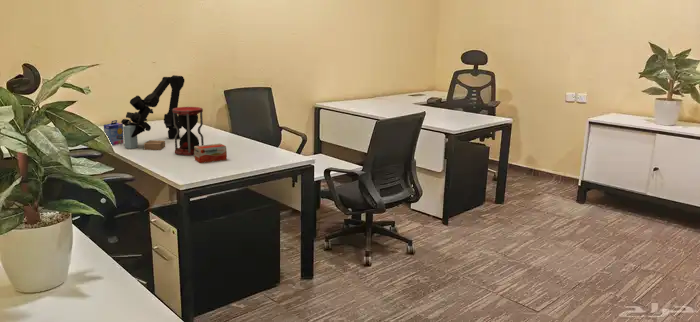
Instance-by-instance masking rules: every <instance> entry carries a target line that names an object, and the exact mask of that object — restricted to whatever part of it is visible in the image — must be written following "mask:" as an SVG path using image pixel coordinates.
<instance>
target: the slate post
mask: <svg viewBox="0 0 700 322" xmlns="http://www.w3.org/2000/svg"><path fill="white" fill-rule="evenodd" d="M135 128H136V127H135V126H133V125H128V126H125V125H123V138H124V143H123V144H124V149H130V150H132V149H137V148H138V147H139V144H138V135H136V136H135V137H133V138H132V137H131V136H132V134H133V132H134V130H135Z"/></svg>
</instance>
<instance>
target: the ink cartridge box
mask: <svg viewBox="0 0 700 322" xmlns="http://www.w3.org/2000/svg"><path fill="white" fill-rule="evenodd" d="M123 126H124V124H122V123H120V122H118V120H117V119H115V120H111V123H105V124H103V133H104V132H105V133H106V135H107V136H108V138H109V140H110V142H111V144H112V145H113V146H116V145H117V146H118V145H122V144H125V143H124V131H123Z"/></svg>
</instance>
